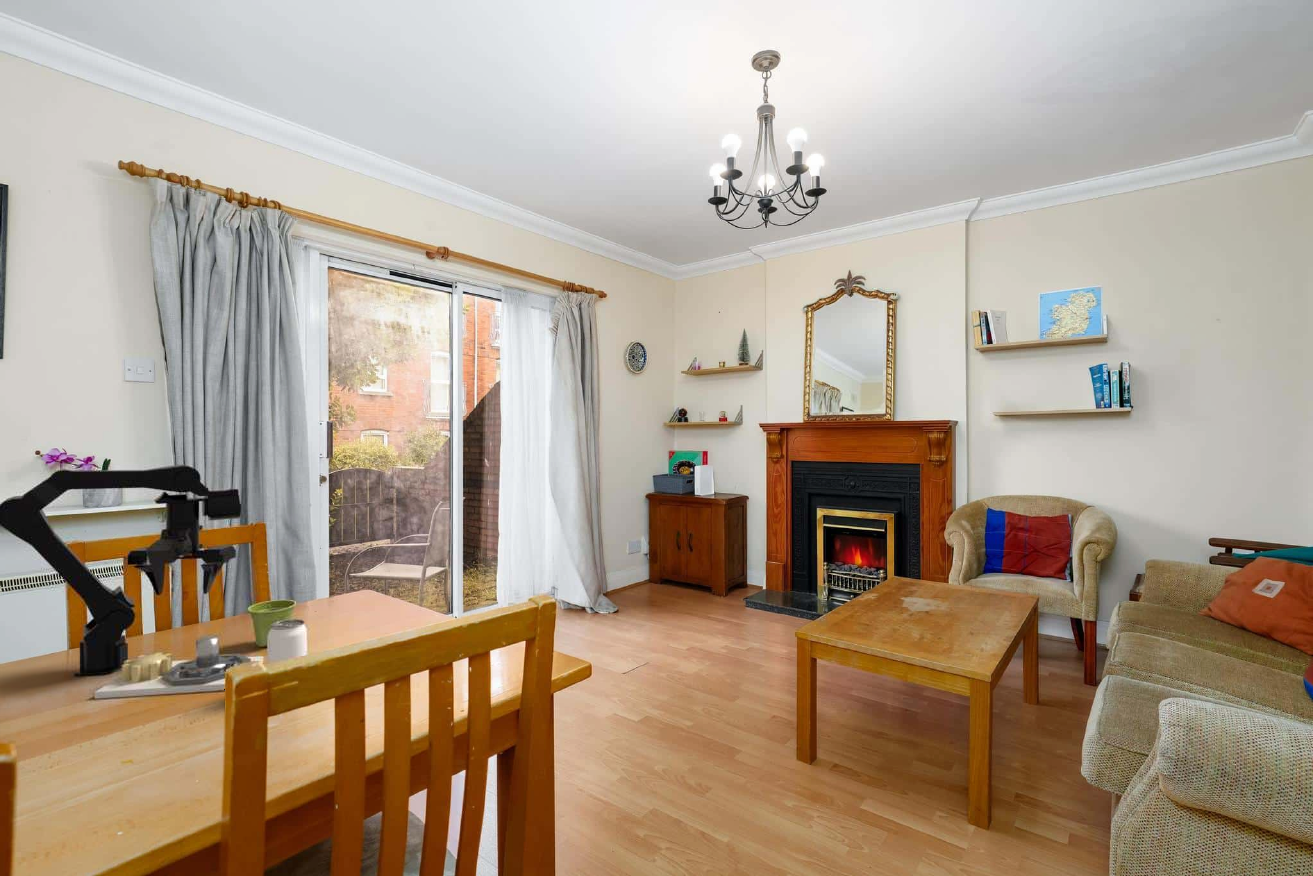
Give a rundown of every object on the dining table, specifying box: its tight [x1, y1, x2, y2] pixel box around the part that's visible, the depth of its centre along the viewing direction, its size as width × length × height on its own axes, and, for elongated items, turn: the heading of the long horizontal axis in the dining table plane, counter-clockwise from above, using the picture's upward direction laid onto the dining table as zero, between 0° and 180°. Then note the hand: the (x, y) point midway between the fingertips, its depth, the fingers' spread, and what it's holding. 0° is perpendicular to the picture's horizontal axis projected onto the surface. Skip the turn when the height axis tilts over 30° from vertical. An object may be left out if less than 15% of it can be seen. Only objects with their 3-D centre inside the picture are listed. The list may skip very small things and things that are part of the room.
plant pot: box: [247, 599, 297, 648], centre depth 139 cm, size 9×9×9 cm
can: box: [266, 618, 308, 664], centre depth 116 cm, size 6×6×12 cm
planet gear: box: [179, 635, 235, 678], centre depth 120 cm, size 9×9×6 cm
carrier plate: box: [94, 652, 264, 700], centre depth 119 cm, size 22×14×4 cm, turn 101°
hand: (182, 594), depth 132 cm, fingers open, 9 cm apart
